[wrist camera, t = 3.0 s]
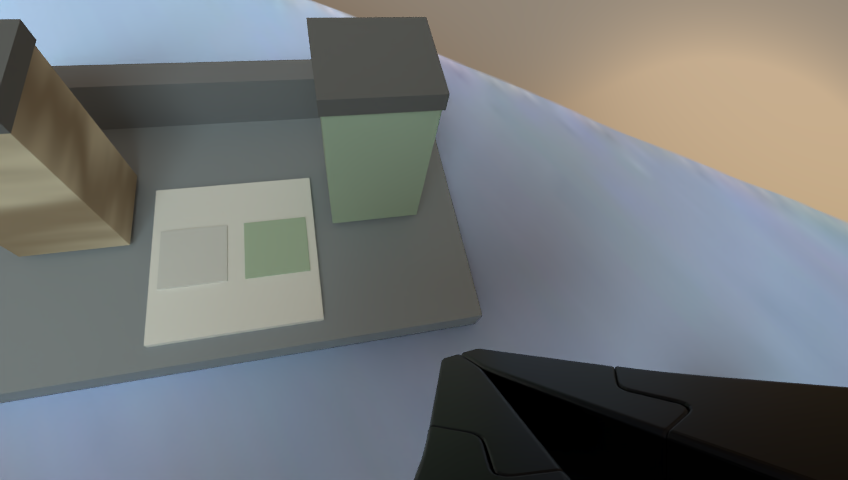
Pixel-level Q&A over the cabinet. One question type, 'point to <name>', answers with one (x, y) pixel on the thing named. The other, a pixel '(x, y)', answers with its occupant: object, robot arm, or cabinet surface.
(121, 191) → the beech block
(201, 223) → the switch board
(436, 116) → the sage block
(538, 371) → the robot arm
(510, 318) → the cabinet surface
